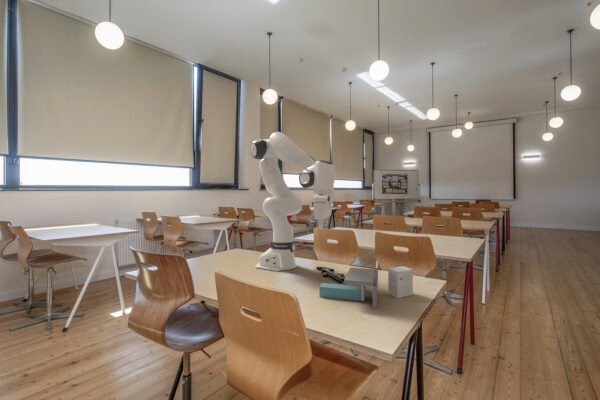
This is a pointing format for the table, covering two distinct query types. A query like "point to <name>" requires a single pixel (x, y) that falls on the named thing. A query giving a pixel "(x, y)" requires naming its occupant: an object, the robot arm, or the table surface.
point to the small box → (400, 282)
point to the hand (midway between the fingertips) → (323, 227)
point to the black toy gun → (332, 274)
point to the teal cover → (340, 291)
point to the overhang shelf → (364, 281)
